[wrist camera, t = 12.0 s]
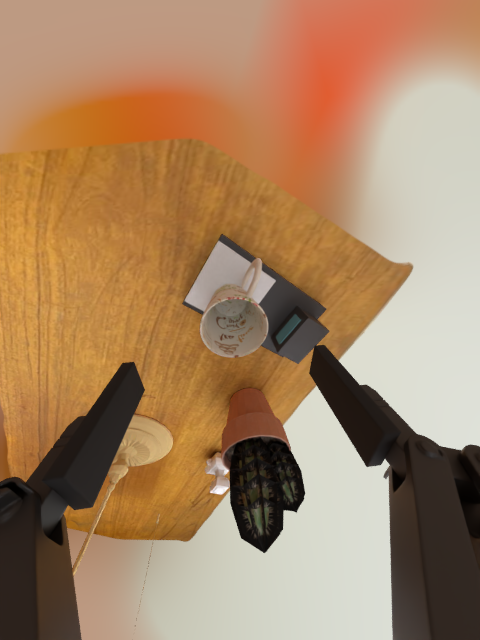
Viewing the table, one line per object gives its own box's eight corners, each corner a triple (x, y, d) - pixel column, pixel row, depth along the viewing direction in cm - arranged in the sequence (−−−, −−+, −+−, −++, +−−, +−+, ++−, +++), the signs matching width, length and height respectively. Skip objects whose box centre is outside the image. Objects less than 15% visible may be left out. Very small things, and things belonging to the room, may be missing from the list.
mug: (198, 313, 32) (190, 347, 23) (225, 240, 27) (228, 247, 18) (243, 328, 34) (251, 364, 25) (274, 262, 29) (299, 278, 20)
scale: (184, 299, 33) (175, 316, 27) (221, 233, 29) (222, 235, 23) (279, 350, 41) (291, 374, 34) (320, 304, 37) (342, 321, 30)
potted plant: (239, 424, 51) (254, 574, 29) (209, 397, 45) (200, 560, 23) (282, 402, 49) (334, 548, 27) (257, 371, 43) (296, 525, 21)
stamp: (237, 453, 58) (240, 487, 50) (226, 464, 60) (227, 498, 52) (212, 446, 55) (210, 481, 47) (201, 458, 57) (198, 493, 50)
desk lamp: (201, 428, 50) (159, 906, 15) (170, 470, 58) (93, 849, 23) (74, 396, 41) (-858, 1483, 6) (57, 451, 49) (-370, 1045, 13)
